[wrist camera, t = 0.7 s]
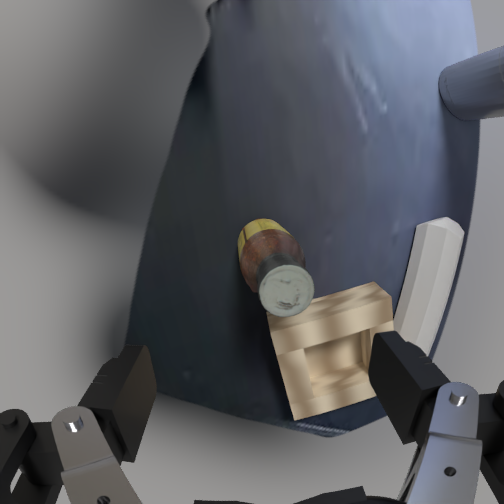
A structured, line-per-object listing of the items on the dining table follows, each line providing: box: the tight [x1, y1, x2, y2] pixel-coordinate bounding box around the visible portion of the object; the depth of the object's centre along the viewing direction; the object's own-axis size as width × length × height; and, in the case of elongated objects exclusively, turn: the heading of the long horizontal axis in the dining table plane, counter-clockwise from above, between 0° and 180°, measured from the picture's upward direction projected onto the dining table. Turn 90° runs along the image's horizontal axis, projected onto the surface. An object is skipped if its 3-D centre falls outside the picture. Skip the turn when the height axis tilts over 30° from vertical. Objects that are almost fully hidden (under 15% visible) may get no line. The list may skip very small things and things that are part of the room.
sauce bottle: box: [238, 219, 315, 317], centre depth 32 cm, size 7×6×20 cm
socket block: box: [266, 282, 394, 421], centre depth 43 cm, size 16×16×6 cm
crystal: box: [393, 217, 465, 357], centre depth 42 cm, size 7×7×24 cm
